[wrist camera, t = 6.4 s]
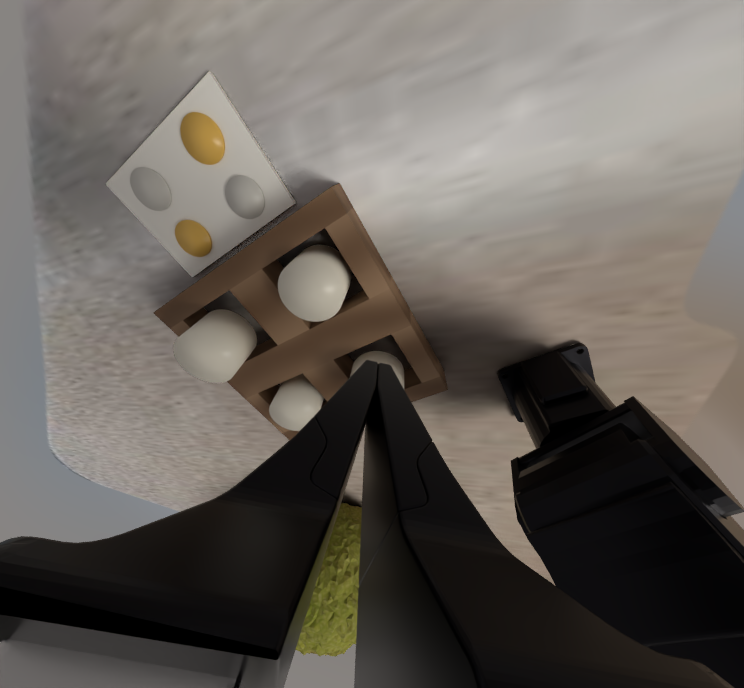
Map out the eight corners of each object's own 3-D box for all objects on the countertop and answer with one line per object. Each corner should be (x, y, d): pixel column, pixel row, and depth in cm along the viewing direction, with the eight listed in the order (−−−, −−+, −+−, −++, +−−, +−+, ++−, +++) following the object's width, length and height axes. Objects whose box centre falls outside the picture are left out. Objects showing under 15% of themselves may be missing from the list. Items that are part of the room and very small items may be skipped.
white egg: (362, 285, 20) (356, 305, 17) (317, 309, 21) (305, 331, 18) (329, 232, 18) (317, 246, 15) (283, 262, 19) (264, 279, 17)
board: (444, 370, 24) (447, 389, 22) (299, 423, 29) (291, 442, 27) (339, 183, 17) (331, 186, 15) (175, 298, 22) (153, 312, 20)
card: (296, 203, 18) (293, 203, 17) (194, 276, 21) (190, 278, 21) (212, 72, 15) (206, 70, 14) (109, 183, 18) (102, 184, 18)
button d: (268, 343, 21) (248, 370, 18) (231, 362, 22) (208, 390, 20) (228, 299, 19) (200, 323, 16) (191, 323, 20) (160, 348, 18)
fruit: (357, 548, 45) (285, 663, 35) (307, 477, 45) (217, 572, 34) (434, 566, 34) (361, 745, 23) (368, 472, 33) (261, 611, 23)
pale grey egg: (413, 381, 22) (414, 412, 19) (368, 397, 23) (364, 429, 20) (388, 342, 20) (386, 371, 17) (342, 362, 21) (333, 392, 19)
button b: (334, 396, 26) (326, 423, 23) (300, 408, 27) (290, 435, 25) (308, 365, 24) (296, 391, 22) (273, 380, 26) (259, 406, 23)
